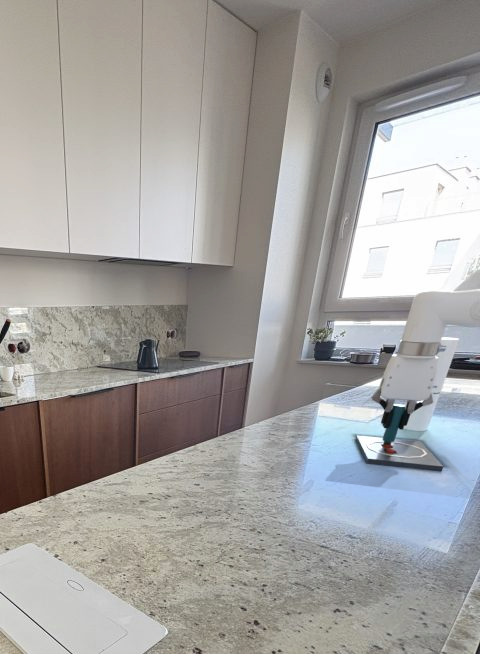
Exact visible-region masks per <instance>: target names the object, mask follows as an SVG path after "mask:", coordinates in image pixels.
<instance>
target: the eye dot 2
mask: <svg viewBox="0 0 480 654" xmlns="http://www.w3.org/2000/svg"><path fill="white" fill-rule="evenodd" d="M386 453H395V450H393V449H387V450H386Z"/></svg>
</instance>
